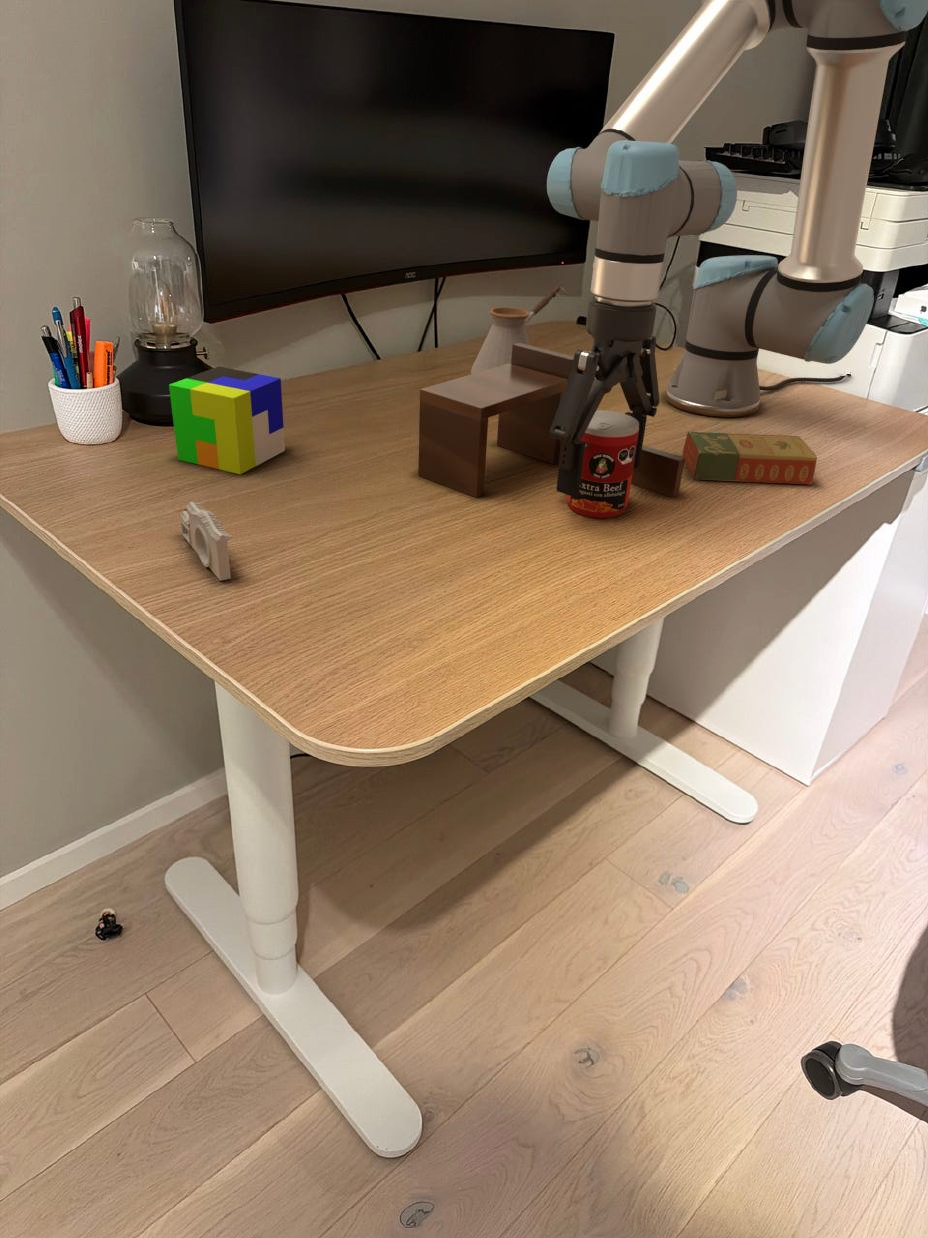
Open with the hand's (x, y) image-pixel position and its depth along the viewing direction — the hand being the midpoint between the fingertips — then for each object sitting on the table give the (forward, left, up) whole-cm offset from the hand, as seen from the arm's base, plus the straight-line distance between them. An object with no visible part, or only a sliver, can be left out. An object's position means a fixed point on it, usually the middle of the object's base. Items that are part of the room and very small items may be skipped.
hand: (599, 478), depth 111 cm
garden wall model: (+42, -22, -4) cm, 48 cm away
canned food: (0, 0, -4) cm, 4 cm away
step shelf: (-1, -8, -4) cm, 9 cm away
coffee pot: (-34, -38, -4) cm, 51 cm away
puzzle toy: (+22, -44, -4) cm, 49 cm away
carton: (-25, +8, -4) cm, 27 cm away
